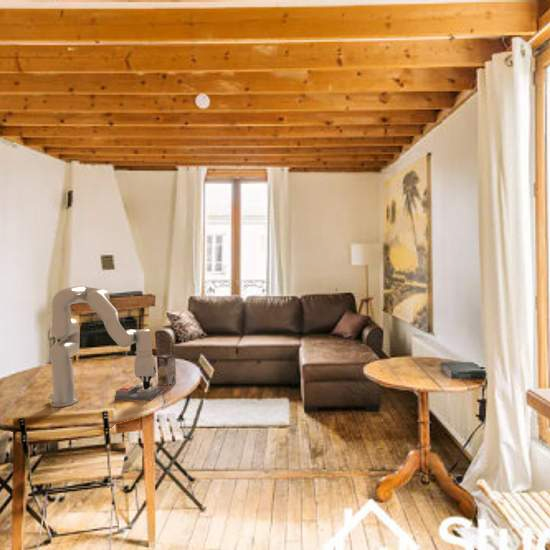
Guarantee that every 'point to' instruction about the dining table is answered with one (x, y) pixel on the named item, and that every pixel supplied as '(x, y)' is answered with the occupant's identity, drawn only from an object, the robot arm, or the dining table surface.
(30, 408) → the dining table surface
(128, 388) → the button red
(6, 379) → the dining table surface
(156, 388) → the button panel
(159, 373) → the coffee box
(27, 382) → the dining table surface
